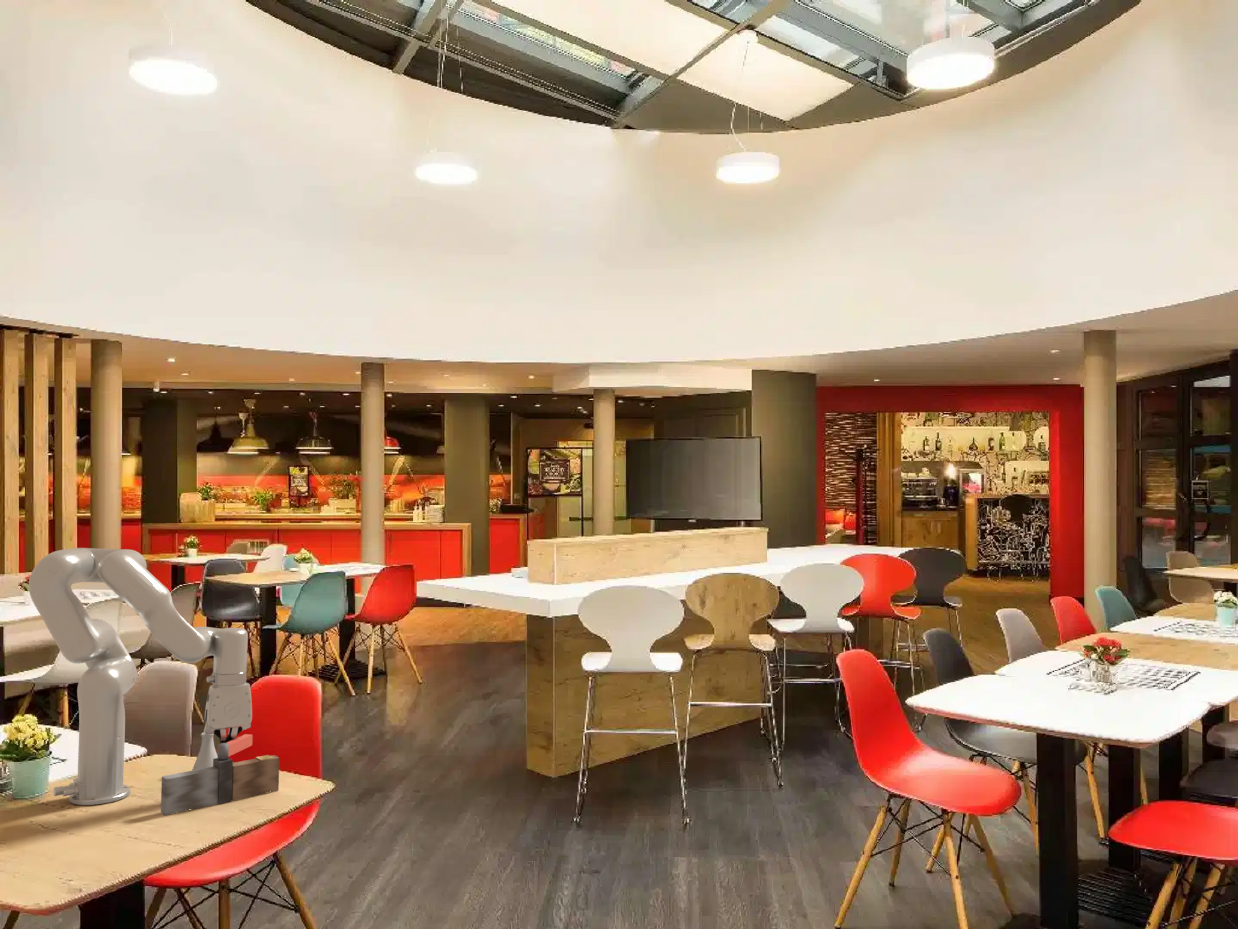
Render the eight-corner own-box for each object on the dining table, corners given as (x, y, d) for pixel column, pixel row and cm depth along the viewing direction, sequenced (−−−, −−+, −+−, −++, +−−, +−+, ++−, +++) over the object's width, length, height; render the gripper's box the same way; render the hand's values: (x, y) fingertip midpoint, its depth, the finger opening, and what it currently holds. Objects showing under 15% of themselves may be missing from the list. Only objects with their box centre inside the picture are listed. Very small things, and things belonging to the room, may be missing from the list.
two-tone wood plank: (166, 816, 204) (167, 772, 205) (160, 811, 207) (161, 768, 208) (279, 791, 222) (280, 751, 223) (272, 787, 225) (273, 747, 226)
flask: (227, 768, 241) (228, 730, 241) (212, 776, 234) (213, 737, 234) (201, 767, 242) (202, 729, 242) (185, 775, 234) (186, 736, 235)
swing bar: (224, 759, 214) (225, 746, 214) (215, 759, 214) (215, 745, 214) (253, 746, 226) (253, 733, 226) (243, 745, 226) (244, 732, 226)
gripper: (201, 685, 216) (198, 763, 215) (265, 678, 225) (262, 754, 225) (192, 680, 222) (189, 756, 221) (256, 673, 231) (253, 747, 230)
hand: (226, 755), depth 223 cm, fingers closed
